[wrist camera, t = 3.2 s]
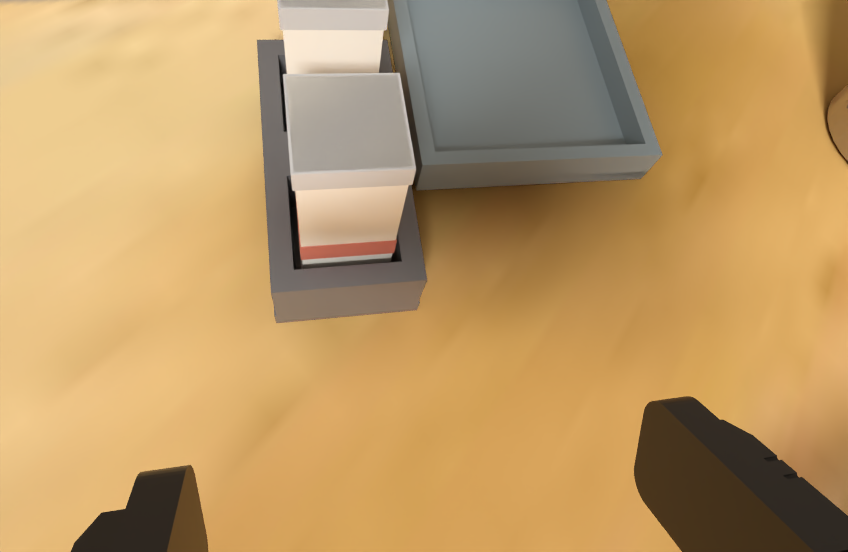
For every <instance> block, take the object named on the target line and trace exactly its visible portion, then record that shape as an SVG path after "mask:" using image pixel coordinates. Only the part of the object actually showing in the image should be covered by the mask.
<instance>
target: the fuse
mask: <svg viewBox="0 0 848 552" xmlns="http://www.w3.org/2000/svg"><path fill="white" fill-rule="evenodd" d="M277 1H278V13H279V23H280V30H283V38H284V48H285V59H286V70H287V74H336V73H379V67H380V58H381V49H382V41H383V32H384V30H387V23H388V14H389V7H388V2H387V0H277Z"/></svg>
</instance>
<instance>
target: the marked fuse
mask: <svg viewBox="0 0 848 552" xmlns="http://www.w3.org/2000/svg"><path fill="white" fill-rule="evenodd" d="M283 81H284V94H285V107H286V120H287V134H288V147H289V160H290V173H291V183H292V191H295V193H296V210H297V222H298V235H299V248H300V261H301V269H311V268H324V267H337V266H350V265H363V264H376V263H389V262H390V261H391V257H392V253H394V251H395V247H396V243H397V239H396V236H397V232H398V228H399V224H400V219H401V215H402V211H403V207H404V203H405V198H406V194H407V190H408V186H409V185H412V184H413V180H414V176H415V172H416V165H415V159H414V153H413V147H412V142H411V136H410V130H409V124H408V118H407V112H406V107H405V101H404V95H403V89H402V83H401V77H400V73H336V74H283Z"/></svg>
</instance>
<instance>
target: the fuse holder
mask: <svg viewBox="0 0 848 552" xmlns="http://www.w3.org/2000/svg"><path fill="white" fill-rule="evenodd" d="M257 48H258V66H259V84H260V102H261V120H262V138H263V156H264V174H265V192H266V210H267V228H268V246H269V264H270V282H271V295H272V299H273V303H274V313H275V320H276V323H283V322H294V321H304V320H315V319H326V318H336V317H347V316H358V315H368V314H379V313H390V312H400V311H411V310H417V308H418V306H419V303H420V302H419V299H420V296H421V294H422V291H423V289H424V286H425V284H426V282H427V276H426V270H425V264H424V258H423V252H422V246H421V240H420V234H419V228H418V222H417V216H416V210H415V204H414V198H413V192H412V186H411V185H409V186H408V190H407V194H406V198H405V203H404V207H403V211H402V215H401V219H400V224H399V228H398V232H397V236H396V239H397V243H396V247H395V251H394V253H392V257H391V261H390V262H389V263H376V264H363V265H350V266H337V267H324V268H311V269H301V261H300V248H299V235H298V222H297V210H296V193H295V191H292V183H291V173H290V160H289V147H288V134H287V120H286V107H285V94H284V81H283V74H287V70H286V59H285V48H284V40H257ZM379 73H393V71H392V65H391V59H390V53H389V47H388V41H387V40H383V41H382V49H381V58H380V67H379Z"/></svg>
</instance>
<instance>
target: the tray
mask: <svg viewBox="0 0 848 552" xmlns="http://www.w3.org/2000/svg"><path fill="white" fill-rule="evenodd" d="M387 2H388V7H389V14H388V28H389V34H390V40H391V46H392V52H393V57H394V63H395V69H396V73H400V77H401V83H402V89H403V95H404V101H405V107H406V112H407V118H408V124H409V130H410V136H411V142H412V147H413V153H414V159H415V165H416V172H415V176H414V182H415V188H416V190H435V189H454V188H474V187H493V186H512V185H531V184H551V183H570V182H589V181H609V180H628V179H641V178H642V177H643V176H644V175H645V174H646V173H647V171H648V170H649V169H650V168H651V167H652V166H653V165H654V164H655V163H656V162H657V160H658V159H659V158H660V157H661V156H662V152H661V149H660V147H659V144H658V141H657V138H656V136H655V133H654V130H653V127H652V125H651V122H650V119H649V116H648V114H647V111H646V108H645V105H644V103H643V100H642V97H641V94H640V92H639V89H638V86H637V83H636V81H635V78H634V75H633V72H632V70H631V67H630V64H629V61H628V59H627V56H626V53H625V50H624V48H623V45H622V42H621V39H620V37H619V34H618V31H617V28H616V26H615V23H614V20H613V17H612V15H611V12H610V9H609V6H608V4H607V1H606V0H387Z"/></svg>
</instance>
